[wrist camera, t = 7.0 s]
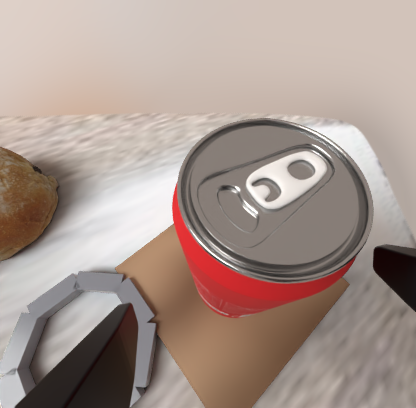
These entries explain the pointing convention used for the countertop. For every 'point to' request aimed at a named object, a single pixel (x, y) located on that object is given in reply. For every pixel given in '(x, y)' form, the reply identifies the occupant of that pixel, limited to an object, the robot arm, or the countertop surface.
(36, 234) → the bread roll
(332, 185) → the beverage can
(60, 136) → the countertop surface
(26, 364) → the ring
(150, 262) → the coaster
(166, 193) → the countertop surface
